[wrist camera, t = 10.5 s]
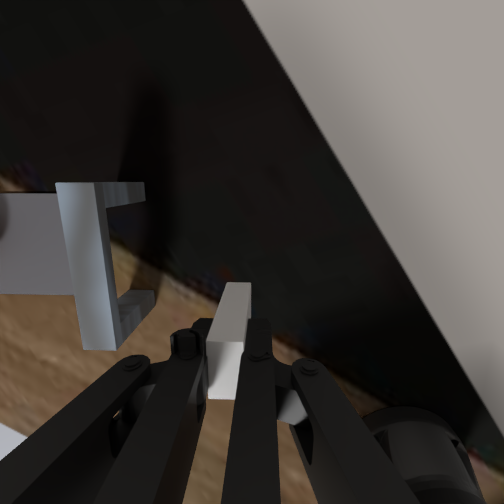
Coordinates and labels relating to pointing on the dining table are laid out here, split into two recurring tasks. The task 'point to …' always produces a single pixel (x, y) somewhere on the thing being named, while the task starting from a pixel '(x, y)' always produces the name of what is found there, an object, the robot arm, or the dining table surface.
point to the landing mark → (33, 245)
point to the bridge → (99, 262)
